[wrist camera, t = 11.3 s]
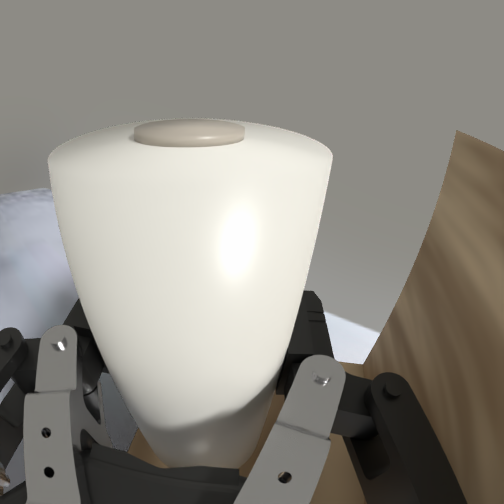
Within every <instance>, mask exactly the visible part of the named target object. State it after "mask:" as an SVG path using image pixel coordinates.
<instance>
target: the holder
mask: <svg viewBox="0 0 504 504" xmlns="http://www.w3.org/2000/svg"><path fill="white" fill-rule="evenodd" d="M339 363H340V364H341V365H342V367H343V368H344V370H345V371H346V372H347V373H349V374H351V375H354V376H358V377H362V378H366V379H370V380H373V379H374V378H375V377H376V376H377V375H379V374H381V373H385V372H392V373H396V374H398V375H400V376H402V377H403V378H404V379H405V380H406V381H407V382H408V383H409V385H410V387H411V389H412V390H413V392H414V394H415V396H416V398H417V400H418V401H419V403H420V405H421V407H422V409H423V411H424V413H425V415H426V416H427V418H428V420H429V422H430V424H431V426H432V428H433V430H434V432H435V434H436V436H437V438H438V440H439V442H440V444H441V446H442V448H443V450H444V452H445V454H446V456H447V459H448V461H449V463H450V465H451V467H452V469H453V471H454V474H455V476H456V478H457V480H458V483H459V485H460V487H461V489H462V492H463V494H464V496H465V499H466V501H467V504H504V151H502V150H500V149H498V148H496V147H494V146H492V145H490V144H488V143H485V142H483V141H481V140H478V139H477V138H474V137H472V136H470V135H467V134H465V133H462V132H460V131H456V135H455V139H454V143H453V148H452V152H451V156H450V160H449V164H448V167H447V171H446V175H445V178H444V181H443V185H442V188H441V191H440V195H439V198H438V201H437V204H436V207H435V210H434V213H433V216H432V219H431V222H430V224H429V227H428V230H427V232H426V235H425V238H424V240H423V243H422V246H421V248H420V251H419V253H418V256H417V258H416V260H415V263H414V265H413V267H412V270H411V272H410V274H409V277H408V279H407V281H406V283H405V286H404V288H403V290H402V292H401V294H400V296H399V298H398V300H397V302H396V305H395V307H394V309H393V311H392V313H391V315H390V317H389V319H388V320H387V322H386V324H385V326H384V328H383V330H382V332H381V334H380V336H379V337H378V339H377V341H376V343H375V345H374V346H373V348H372V350H371V352H370V353H369V355H368V357H367V359H366V360H365V362H364V364H354V363H345V362H339ZM284 402H285V401H284V395H276V389H275V392H274V395H273V398H272V401H271V405H270V408H269V411H268V414H267V417H266V420H265V423H264V426H263V429H262V432H261V434H260V437H259V440H258V443H257V446H256V448H255V450H254V452H253V454H252V455H251V457H250V458H249V459H248V460H247V461H246V462H245V463H244V464H243V465H242V466H241V467H239V468H238V469H239V475H240V476H244V477H247V478H248V476H249V474H250V472H251V470H252V468H253V466H254V464H255V462H256V460H257V458H258V456H259V454H260V452H261V450H262V448H263V446H264V444H265V442H266V440H267V438H268V436H269V434H270V432H271V430H272V428H273V426H274V424H275V422H276V420H277V418H278V416H279V414H280V411H281V409H282V407H283V405H284ZM329 438H330V439H331V445H330V449H329V453H328V456H327V459H326V461H325V464H324V467H323V470H322V473H321V475H320V478H319V481H318V483H317V486H316V489H315V491H314V494H313V496H312V499H311V501H310V503H309V504H367V502H366V499H365V497H364V494H363V491H362V488H361V486H360V483H359V480H358V478H357V475H356V472H355V469H354V467H353V464H352V461H351V459H350V456H349V453H348V451H347V448H346V445H345V443H344V440H343V438H342V436H341V435H337V434H333V433H330V436H329ZM127 453H129V454H131V455H133V456H135V457H137V458H139V459H141V460H143V461H145V462H147V463H149V464H152V465H154V466H156V467H159V468H169V467H168V466H167V465H165V464H164V463H163V462H162V461H161V460H160V459H159V458H158V457H157V456H156V454H155V453H154V452H153V450H152V448H151V447H150V445H149V444H148V442H147V441H146V439H145V437H144V436H143V434H142V432H141V431H140V429H139V427H138V429H137V432H136V434H135V436H134V438H133V441H132V443H131V445H130V447H129V450H128V452H127Z"/></svg>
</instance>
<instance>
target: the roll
mask: <svg viewBox="0 0 504 504" xmlns="http://www.w3.org/2000/svg"><path fill="white" fill-rule="evenodd" d="M332 155H333V154H332V153H331V151H330V150H329V149H328V148H327V147H326V146H325V145H323V144H322V143H320V142H318V141H316V140H314V139H312V138H310V137H307V136H305V135H302V134H299V133H296V132H293V131H289V130H286V129H282V128H277V127H273V126H268V125H263V124H257V123H251V122H244V121H235V120H224V119H207V118H175V119H161V120H160V119H159V120H148V121H141V122H140V121H139V122H133V123H126V124H121V125H115V126H111V127H107V128H103V129H99V130H95V131H92V132H89V133H86V134H83V135H80V136H78V137H75V138H73V139H71V140H68V141H67V142H65V143H63V144H61V145H59V146H58V147H57V148H55V149H54V150H53V151H52V152H51V153H50V155H49V157H48V167H49V175H50V181H51V188H52V194H53V199H54V205H55V210H56V215H57V219H58V224H59V229H60V233H61V237H62V241H63V245H64V249H65V253H66V257H67V260H68V264H69V267H70V271H71V274H72V277H73V281H74V284H75V287H76V290H77V293H78V296H79V299H80V302H81V305H82V307H83V310H84V313H85V316H86V318H87V321H88V324H89V326H90V329H91V331H92V334H93V336H94V339H95V341H96V344H97V346H98V348H99V351H100V353H101V355H102V358H103V360H104V362H105V364H106V366H107V368H108V371H109V373H110V375H111V377H112V379H113V381H114V383H115V385H116V387H117V389H118V391H119V393H120V395H121V397H122V399H123V401H124V402H125V404H126V406H127V408H128V410H129V412H130V413H131V415H132V417H133V419H134V421H135V422H136V424H137V426H138V427H139V429H140V431H141V432H142V434H143V436H144V437H145V439H146V441H147V442H148V444H149V445H150V447H151V448H152V450H153V452H154V453H155V454H156V456H157V457H158V458H159V459H160V460H161V461H162V462H163V463H164V464H165V465H167V466H168V467H169V468H179V467H192V466H209V467H220V468H233V469H238V468H239V467H241V466H242V465H243V464H244V463H245V462H246V461H247V460H248V459H249V458H250V457H251V455H252V454H253V452H254V450H255V448H256V446H257V443H258V440H259V437H260V434H261V432H262V429H263V426H264V423H265V420H266V417H267V414H268V411H269V408H270V405H271V401H272V398H273V395H274V392H275V389H276V385H277V382H278V379H279V376H280V372H281V369H282V366H283V362H284V359H285V356H286V352H287V349H288V346H289V342H290V339H291V335H292V332H293V328H294V324H295V321H296V317H297V313H298V310H299V306H300V302H301V298H302V294H303V291H304V287H305V283H306V279H307V275H308V271H309V267H310V262H311V258H312V254H313V250H314V246H315V241H316V237H317V232H318V228H319V223H320V219H321V214H322V209H323V204H324V200H325V195H326V190H327V185H328V180H329V175H330V170H331V165H332V159H333V156H332Z"/></svg>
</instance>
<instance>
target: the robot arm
mask: <svg viewBox="0 0 504 504" xmlns="http://www.w3.org/2000/svg"><path fill="white" fill-rule="evenodd" d="M323 313H324V311H323V307H322V303H321V300H320V299H319V298H318V296H317V295H316V294H315V293H314V291H303V294H302V298H301V302H300V306H299V310H298V313H297V317H296V321H295V324H294V328H293V332H292V335H291V339H290V342H289V346H288V349H287V352H286V356H285V359H284V362H283V366H282V369H281V372H280V376H279V379H278V382H277V385H276V395H284V401H285V402H284V405H283V407H282V409H281V411H280V414H279V416H278V418H277V420H276V422H275V424H274V426H273V428H272V430H271V432H270V434H269V436H268V438H267V440H266V442H265V444H264V446H263V448H262V450H261V452H260V454H259V456H258V458H257V460H256V462H255V464H254V466H253V468H252V470H251V472H250V474H249V476H248V478H247V477H244V476H240V475H239V469H233V468H220V467H209V466H192V467H179V468H159V467H156V466H154V465H152V464H149V463H147V462H145V461H143V460H141V459H139V458H137V457H135V456H133V455H131V454H129V453H127V452H125V451H121V450H117V449H113V446H112V443H111V440H110V437H109V435H108V433H107V430H106V425H105V417H104V409H103V400H102V389H101V383H100V380H99V378H100V375H101V373H102V372H105V373H109V371H108V368H107V366H106V364H105V362H104V360H103V358H102V355H101V353H100V351H99V348H98V346H97V344H96V341H95V339H94V336H93V334H92V331H91V329H90V326H89V324H88V321H87V318H86V316H85V313H84V310H83V307H82V305H81V302H80V299H78V300H77V302H76V303H75V305H74V307H73V308H72V310H71V312H70V313H69V315H68V317H67V319H66V320H65V322H64V324H63V325H57V326H54V327H52V328H50V329H48V330H47V331H46V332H45V333H44V334H43V336H42V338H35V339H24V338H23V336H22V334H21V333H20V331H19V330H18V329H16V328H12V327H10V328H5V329H3V330H1V331H0V392H1V390H2V389H3V387H4V386H5V385H6V383H7V382H8V381H9V379H10V378H11V379H12V380H13V381H14V382H15V384H14V385H13V387H12V388H11V389H10V391H9V392H8V394H7V395H6V397H5V398H4V399H3V401H2V402H1V404H0V504H309V503H310V501H311V499H312V496H313V494H314V491H315V489H316V486H317V483H318V481H319V478H320V475H321V473H322V470H323V467H324V464H325V461H326V459H327V456H328V453H329V449H330V445H331V439H330V438H329V436H330V433H333V434H337V435H341V436H342V438H343V440H344V443H345V445H346V448H347V451H348V453H349V456H350V459H351V461H352V464H353V467H354V469H355V472H356V475H357V478H358V480H359V483H360V486H361V488H362V491H363V494H364V497H365V499H366V502H367V504H467V501H466V499H465V496H464V494H463V492H462V489H461V487H460V485H459V483H458V480H457V478H456V476H455V474H454V471H453V469H452V467H451V465H450V463H449V461H448V459H447V456H446V454H445V452H444V450H443V448H442V446H441V444H440V442H439V440H438V438H437V436H436V434H435V432H434V430H433V428H432V426H431V424H430V422H429V420H428V418H427V416H426V415H425V413H424V411H423V409H422V407H421V405H420V403H419V401H418V400H417V398H416V396H415V394H414V392H413V390H412V389H411V387H410V385H409V383H408V382H407V381H406V380H405V379H404V378H403V377H402V376H400V375H398V374H396V373H392V372H385V373H381V374H379V375H377V376H376V377H375V378H374V379H373V380H370V379H366V378H362V377H358V376H354V375H351V374H349V373H347V372H346V371H345V370H344V368H343V367H342V365H341V364H340V363H339V362H338V361H337V360H335V359H334V355H333V351H332V346H331V342H330V337H329V333H328V328H327V324H326V320H325V315H324V314H323ZM109 374H110V373H109ZM22 439H23V442H24V465H25V478H26V481H24V482H23V483H21V484H19V485H18V486H16V487H15V488H13V489H11V490H10V491H8V492H6V493H5V494H3V487H8V486H9V485H10V479H9V477H8V475H6V473H5V469H6V467H7V465H8V463H9V461H10V460H11V458H12V456H13V454H14V452H15V451H16V449H17V447H18V445H19V444H20V442H21V440H22Z"/></svg>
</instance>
